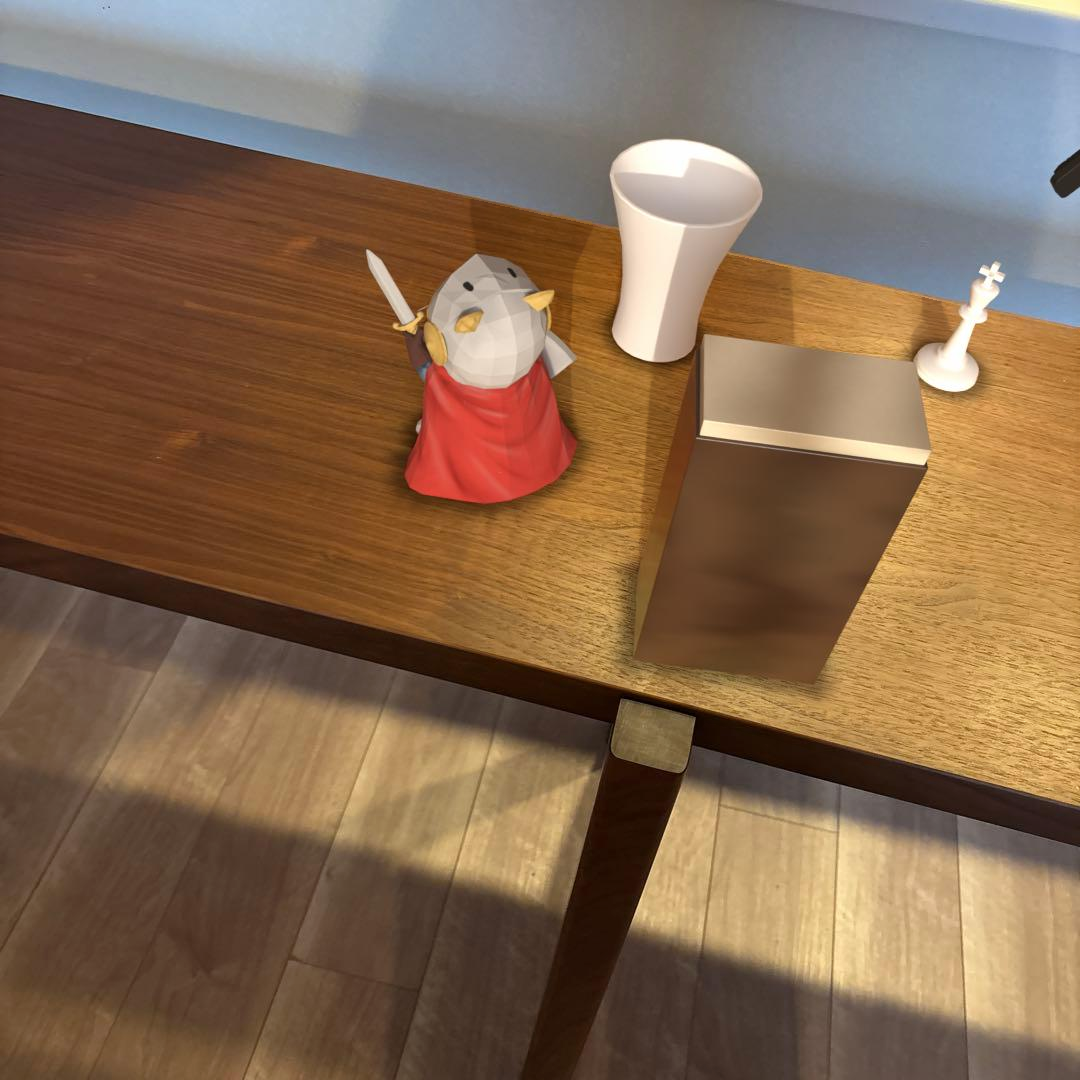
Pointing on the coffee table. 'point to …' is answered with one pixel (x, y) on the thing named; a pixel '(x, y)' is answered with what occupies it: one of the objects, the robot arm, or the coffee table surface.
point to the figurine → (484, 384)
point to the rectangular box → (776, 505)
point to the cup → (674, 238)
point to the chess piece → (959, 339)
